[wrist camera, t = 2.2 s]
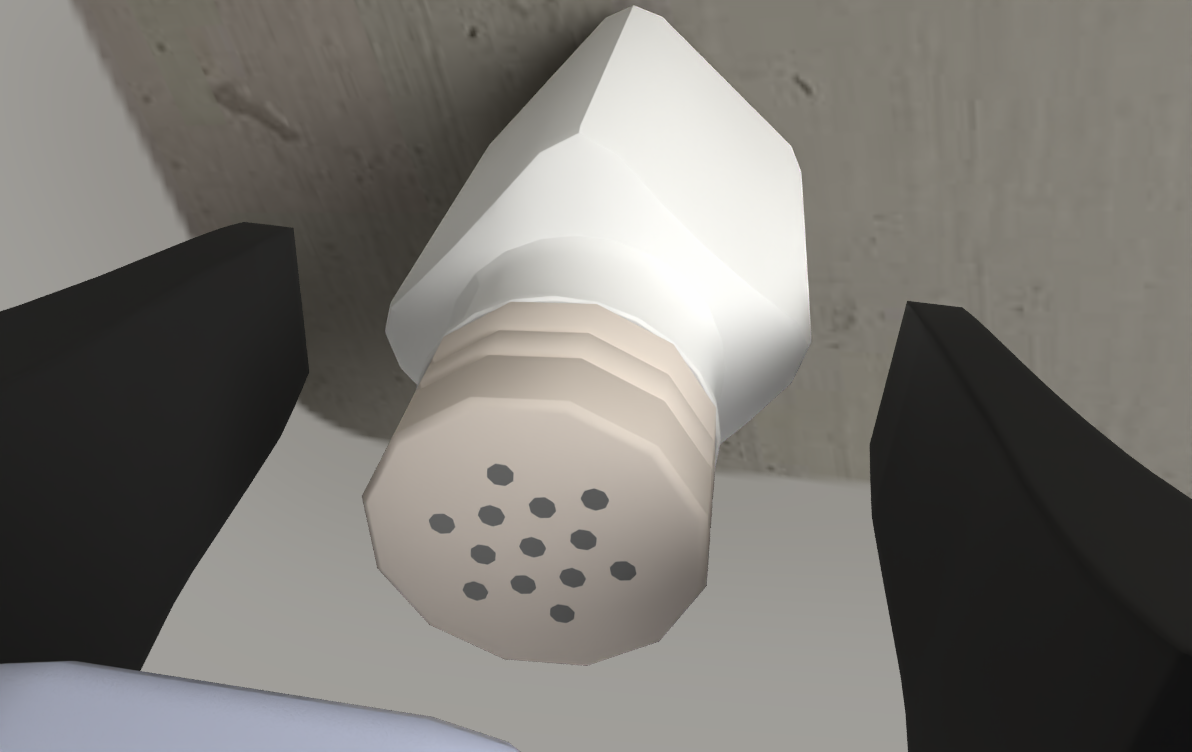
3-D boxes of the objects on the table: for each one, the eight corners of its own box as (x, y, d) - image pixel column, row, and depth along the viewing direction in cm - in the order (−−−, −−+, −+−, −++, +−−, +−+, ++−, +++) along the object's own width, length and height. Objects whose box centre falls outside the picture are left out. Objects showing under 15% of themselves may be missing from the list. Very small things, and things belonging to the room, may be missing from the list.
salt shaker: (646, 307, 19) (553, 750, 11) (475, 156, 18) (235, 528, 10) (816, 157, 17) (855, 568, 9) (637, -22, 16) (502, 264, 8)
